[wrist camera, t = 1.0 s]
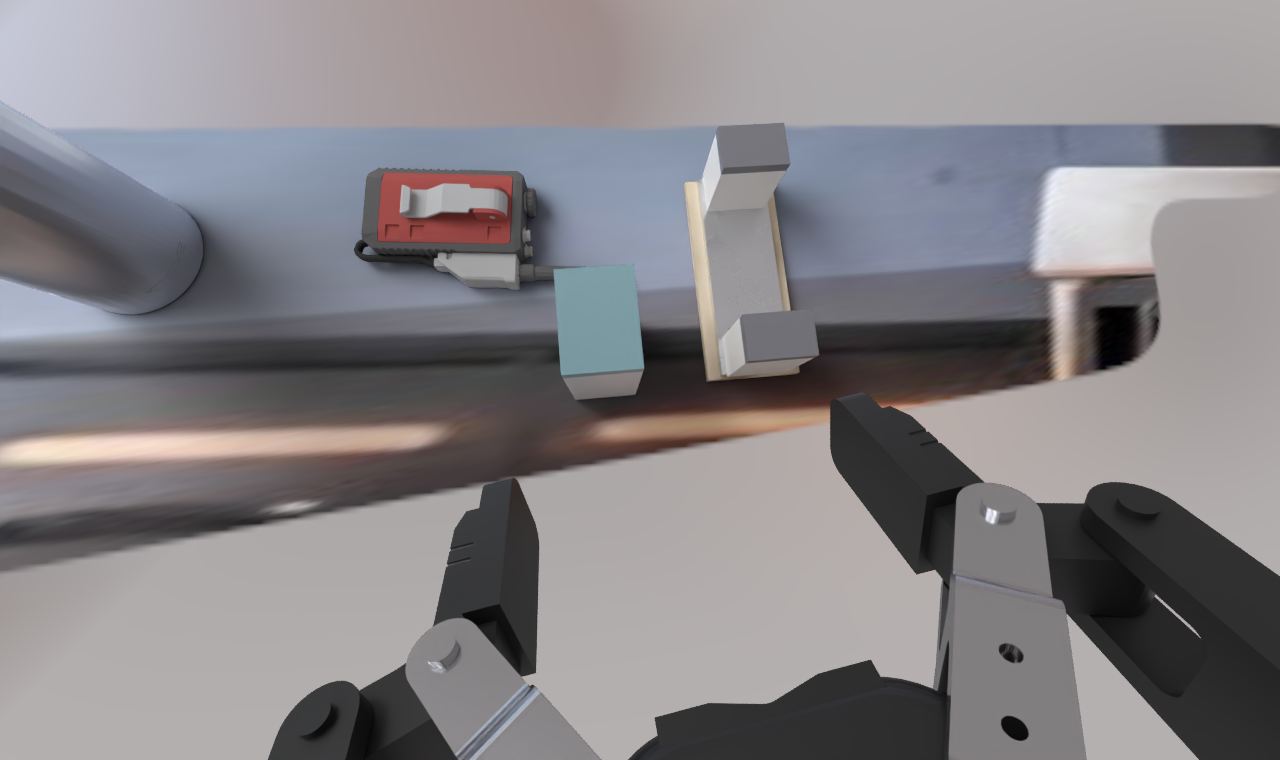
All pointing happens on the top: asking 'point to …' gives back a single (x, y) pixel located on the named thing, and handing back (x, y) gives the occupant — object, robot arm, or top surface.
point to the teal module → (599, 330)
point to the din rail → (738, 266)
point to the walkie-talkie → (453, 224)
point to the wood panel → (703, 283)
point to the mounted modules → (746, 180)
